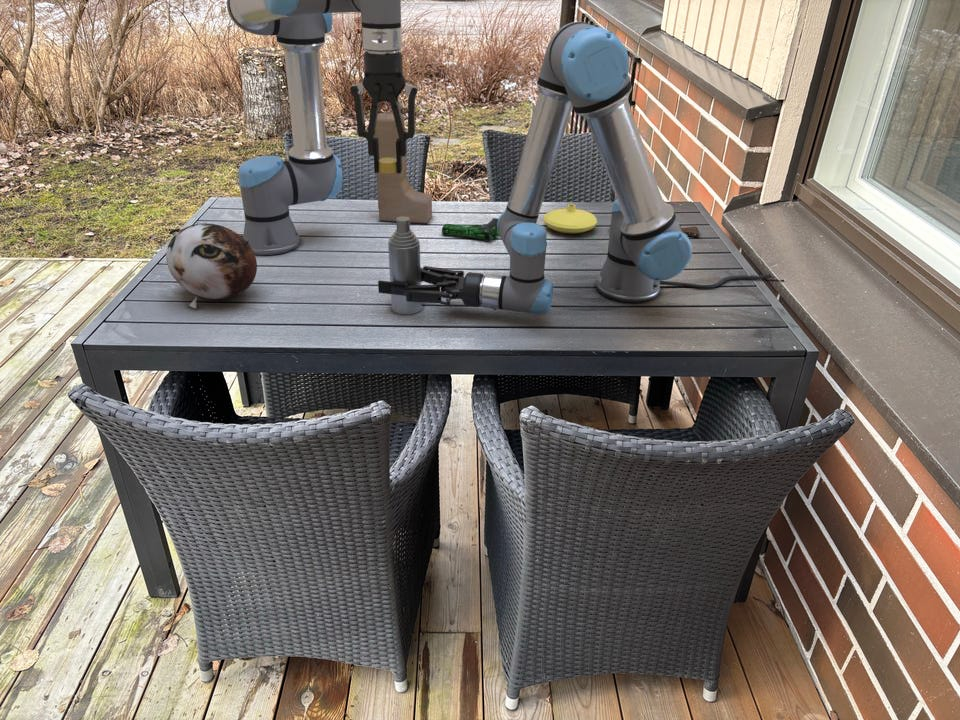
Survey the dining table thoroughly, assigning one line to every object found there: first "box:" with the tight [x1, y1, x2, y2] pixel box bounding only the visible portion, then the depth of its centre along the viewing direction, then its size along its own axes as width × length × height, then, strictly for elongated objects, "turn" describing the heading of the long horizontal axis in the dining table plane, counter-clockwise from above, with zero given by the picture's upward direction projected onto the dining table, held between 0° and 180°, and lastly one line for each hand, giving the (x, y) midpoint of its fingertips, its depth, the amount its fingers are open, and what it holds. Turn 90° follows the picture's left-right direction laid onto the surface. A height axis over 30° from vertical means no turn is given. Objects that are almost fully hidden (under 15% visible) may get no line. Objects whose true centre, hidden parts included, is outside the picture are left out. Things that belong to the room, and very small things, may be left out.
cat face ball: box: [165, 222, 258, 309], centre depth 165 cm, size 22×18×20 cm
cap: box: [378, 158, 397, 174], centre depth 149 cm, size 4×4×2 cm
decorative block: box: [374, 112, 433, 224], centre depth 209 cm, size 8×15×30 cm, turn 82°
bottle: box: [387, 216, 423, 315], centre depth 160 cm, size 7×7×22 cm
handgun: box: [441, 217, 500, 242], centre depth 207 cm, size 16×3×15 cm
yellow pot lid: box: [543, 203, 598, 234], centre depth 209 cm, size 16×16×7 cm
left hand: (388, 171), depth 150 cm, fingers closed on cap, 4 cm apart
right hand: (384, 279), depth 163 cm, fingers closed on bottle, 7 cm apart
